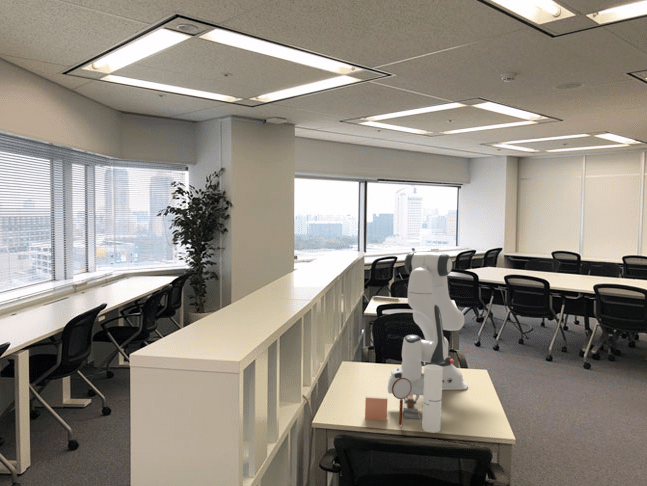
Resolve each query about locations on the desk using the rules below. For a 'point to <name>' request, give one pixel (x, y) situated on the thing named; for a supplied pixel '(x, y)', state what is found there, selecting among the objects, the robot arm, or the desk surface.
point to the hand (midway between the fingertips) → (410, 403)
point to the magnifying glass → (401, 392)
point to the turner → (411, 409)
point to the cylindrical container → (432, 398)
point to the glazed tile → (376, 408)
